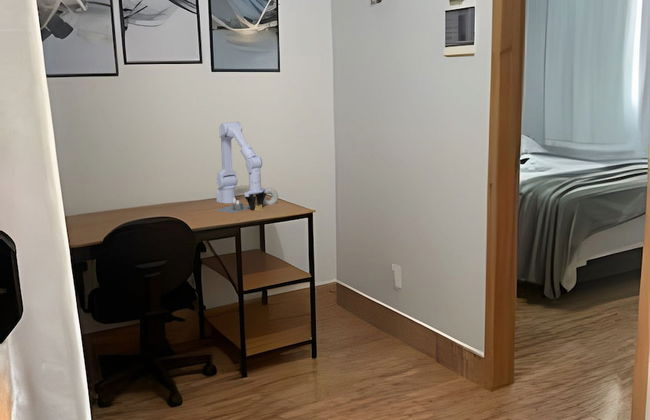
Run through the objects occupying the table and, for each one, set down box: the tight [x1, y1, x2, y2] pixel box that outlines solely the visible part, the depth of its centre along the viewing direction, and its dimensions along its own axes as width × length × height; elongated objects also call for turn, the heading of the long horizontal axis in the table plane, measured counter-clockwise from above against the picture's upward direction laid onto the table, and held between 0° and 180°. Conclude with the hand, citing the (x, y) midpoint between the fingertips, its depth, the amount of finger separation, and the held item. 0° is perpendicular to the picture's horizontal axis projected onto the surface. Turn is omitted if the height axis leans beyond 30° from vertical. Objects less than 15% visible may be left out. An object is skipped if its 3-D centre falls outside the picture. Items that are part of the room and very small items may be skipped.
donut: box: [263, 187, 279, 206], centre depth 323 cm, size 10×3×10 cm, turn 109°
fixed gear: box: [231, 202, 245, 211], centre depth 312 cm, size 5×5×3 cm
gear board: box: [214, 197, 250, 214], centre depth 314 cm, size 13×16×6 cm
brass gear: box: [254, 203, 263, 211], centre depth 312 cm, size 6×6×4 cm
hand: (256, 208), depth 312 cm, fingers closed on brass gear, 5 cm apart
